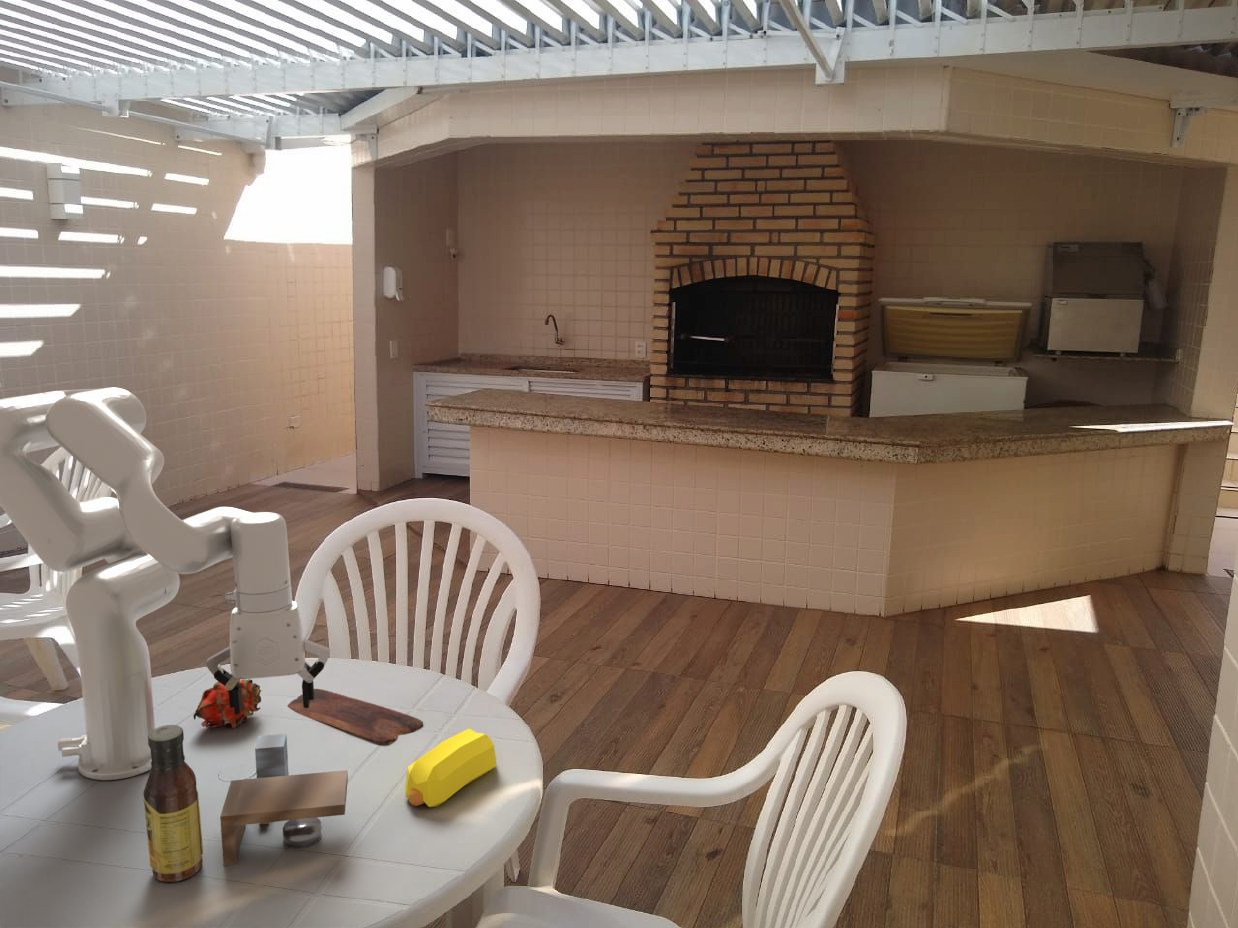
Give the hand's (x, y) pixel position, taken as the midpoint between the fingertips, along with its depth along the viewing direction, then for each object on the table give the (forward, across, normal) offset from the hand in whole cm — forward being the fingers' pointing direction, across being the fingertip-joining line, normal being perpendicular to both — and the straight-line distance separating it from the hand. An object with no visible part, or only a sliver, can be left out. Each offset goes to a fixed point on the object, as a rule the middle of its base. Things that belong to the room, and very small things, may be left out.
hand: (273, 707), depth 144 cm
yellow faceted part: (+14, +26, -4) cm, 29 cm away
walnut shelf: (+13, +3, -15) cm, 20 cm away
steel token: (+13, +5, -15) cm, 20 cm away
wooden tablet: (+13, +10, +22) cm, 27 cm away
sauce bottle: (+13, -10, -20) cm, 26 cm away
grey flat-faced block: (+13, -1, -4) cm, 13 cm away
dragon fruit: (+12, -10, +22) cm, 27 cm away
